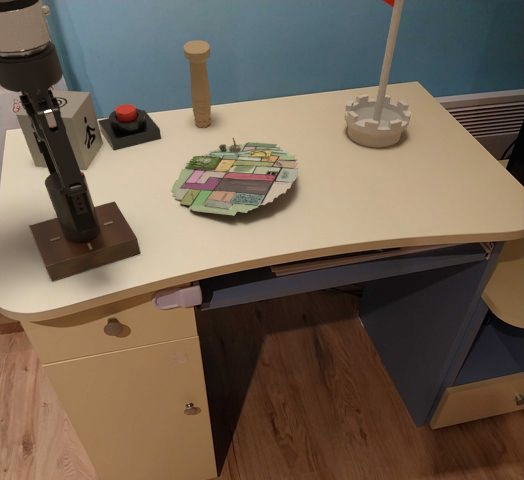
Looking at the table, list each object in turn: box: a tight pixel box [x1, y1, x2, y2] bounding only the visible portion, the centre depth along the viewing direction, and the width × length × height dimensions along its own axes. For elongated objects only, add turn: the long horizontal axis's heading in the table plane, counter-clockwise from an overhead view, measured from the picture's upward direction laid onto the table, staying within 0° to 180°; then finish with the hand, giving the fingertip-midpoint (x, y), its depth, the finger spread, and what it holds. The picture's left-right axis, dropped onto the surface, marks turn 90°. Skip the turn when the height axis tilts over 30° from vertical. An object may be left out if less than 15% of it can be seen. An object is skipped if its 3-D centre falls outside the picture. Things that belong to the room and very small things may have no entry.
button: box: [114, 103, 137, 121], centre depth 99 cm, size 4×4×2 cm
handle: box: [183, 39, 212, 129], centre depth 99 cm, size 5×6×15 cm
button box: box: [97, 107, 162, 151], centre depth 101 cm, size 9×10×4 cm
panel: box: [28, 201, 141, 282], centre depth 78 cm, size 14×11×3 cm
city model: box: [170, 137, 300, 216], centre depth 90 cm, size 25×24×6 cm
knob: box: [44, 171, 101, 243], centre depth 74 cm, size 6×6×9 cm
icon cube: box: [15, 89, 104, 171], centre depth 93 cm, size 10×10×10 cm
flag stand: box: [344, 0, 412, 148], centre depth 92 cm, size 13×13×30 cm
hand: (73, 203), depth 73 cm, fingers open, 13 cm apart
